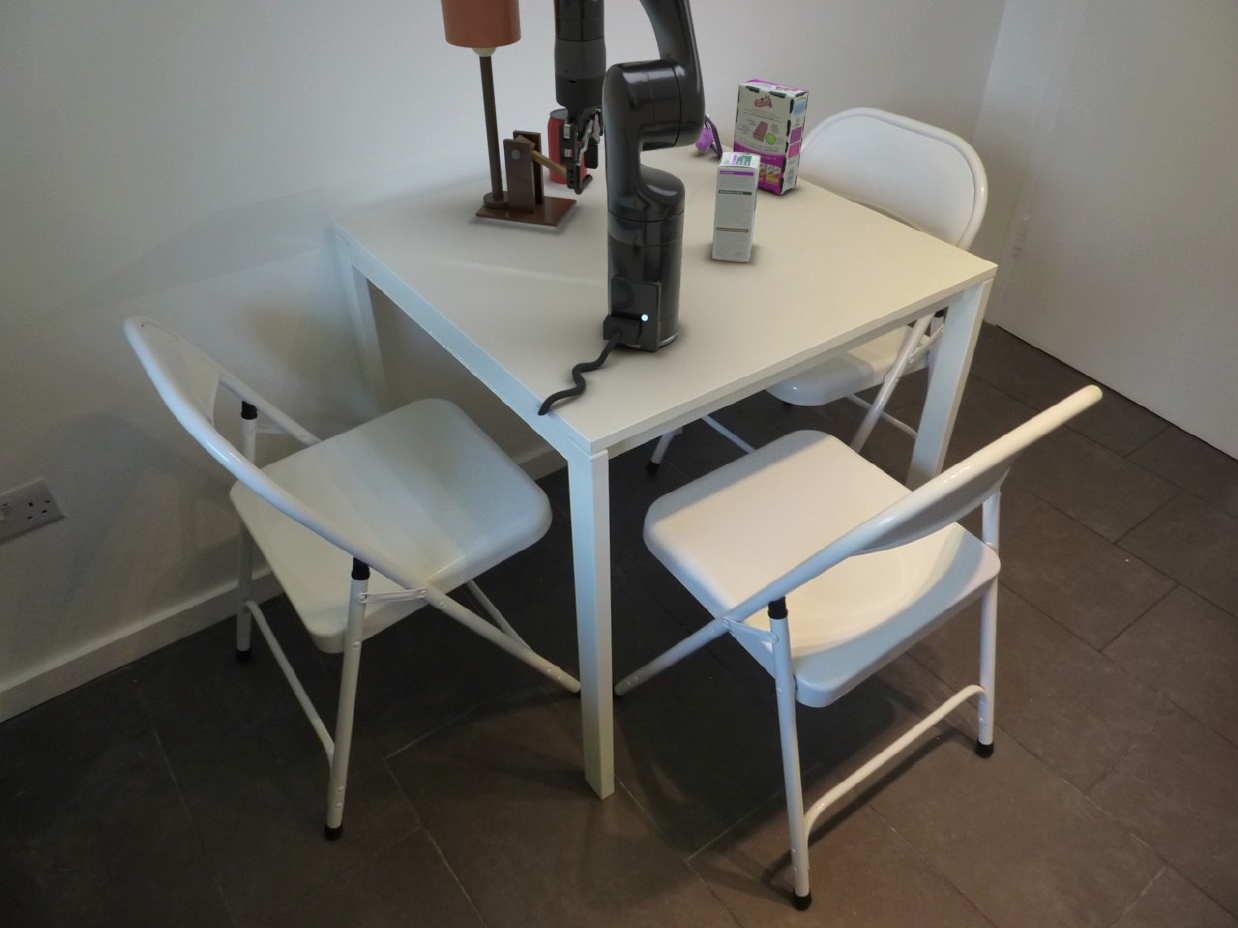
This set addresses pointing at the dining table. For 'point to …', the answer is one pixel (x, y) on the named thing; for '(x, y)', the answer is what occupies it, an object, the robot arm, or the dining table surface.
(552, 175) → the beer can
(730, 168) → the syrup box
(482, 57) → the lamp
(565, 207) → the lamp base
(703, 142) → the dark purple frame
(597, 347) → the dining table surface
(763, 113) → the candy bar box
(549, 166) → the switch
